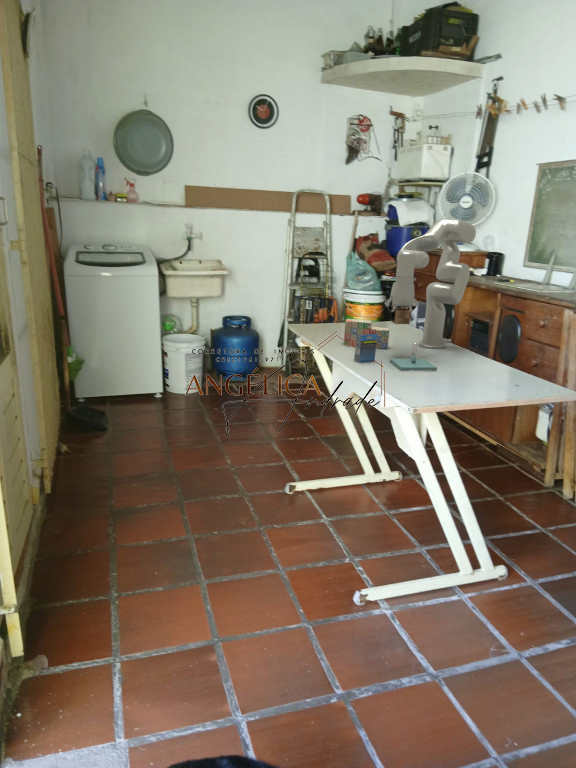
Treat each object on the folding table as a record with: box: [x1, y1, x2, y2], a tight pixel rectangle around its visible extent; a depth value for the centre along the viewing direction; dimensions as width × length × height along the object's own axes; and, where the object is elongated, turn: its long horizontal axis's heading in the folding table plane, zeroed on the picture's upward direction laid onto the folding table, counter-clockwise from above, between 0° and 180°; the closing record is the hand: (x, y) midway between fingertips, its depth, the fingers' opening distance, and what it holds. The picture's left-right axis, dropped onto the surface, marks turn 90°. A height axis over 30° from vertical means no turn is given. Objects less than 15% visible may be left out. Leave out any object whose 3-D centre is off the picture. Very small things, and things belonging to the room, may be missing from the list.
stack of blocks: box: [343, 318, 390, 350], centre depth 270 cm, size 21×6×12 cm, turn 77°
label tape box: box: [353, 334, 377, 363], centre depth 243 cm, size 9×4×12 cm, turn 119°
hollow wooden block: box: [390, 307, 412, 325], centre depth 248 cm, size 7×7×6 cm
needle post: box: [410, 342, 419, 364], centre depth 238 cm, size 2×2×9 cm
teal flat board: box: [389, 358, 438, 372], centre depth 239 cm, size 16×14×2 cm
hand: (400, 320), depth 249 cm, fingers closed on hollow wooden block, 6 cm apart
